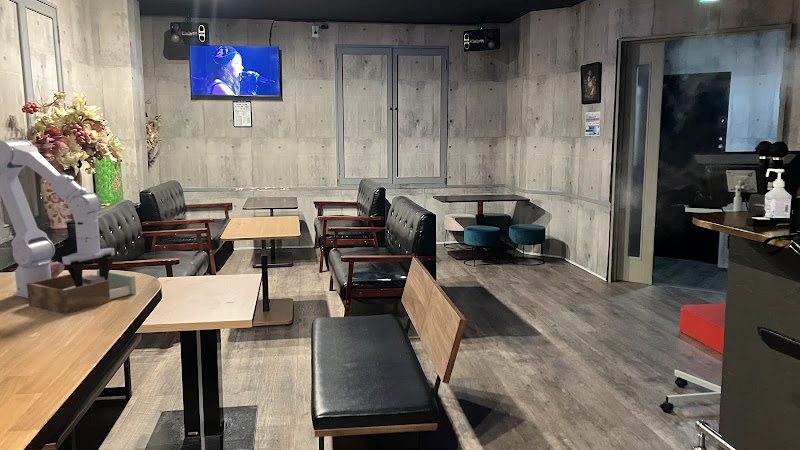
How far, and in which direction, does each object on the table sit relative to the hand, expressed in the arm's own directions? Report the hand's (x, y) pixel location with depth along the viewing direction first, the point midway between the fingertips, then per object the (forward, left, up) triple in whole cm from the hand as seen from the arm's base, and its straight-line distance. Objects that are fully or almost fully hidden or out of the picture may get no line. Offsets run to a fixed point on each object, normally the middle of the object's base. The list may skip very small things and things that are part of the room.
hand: (91, 284), depth 177 cm
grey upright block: (0, 0, -3) cm, 3 cm away
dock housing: (0, -6, -4) cm, 7 cm away
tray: (0, +2, -3) cm, 4 cm away
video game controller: (-30, +5, -4) cm, 30 cm away
